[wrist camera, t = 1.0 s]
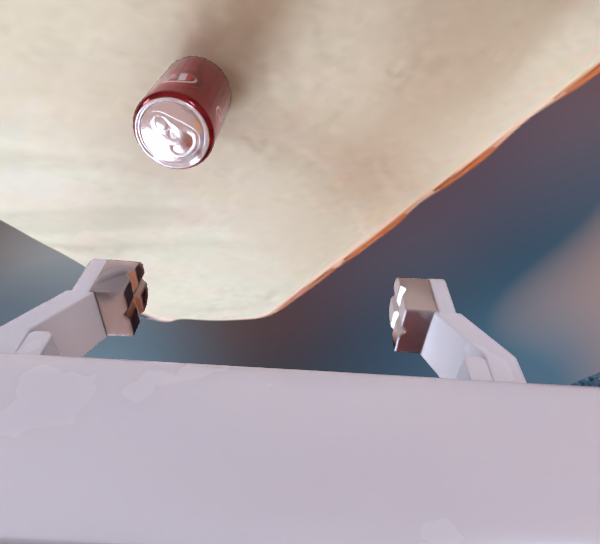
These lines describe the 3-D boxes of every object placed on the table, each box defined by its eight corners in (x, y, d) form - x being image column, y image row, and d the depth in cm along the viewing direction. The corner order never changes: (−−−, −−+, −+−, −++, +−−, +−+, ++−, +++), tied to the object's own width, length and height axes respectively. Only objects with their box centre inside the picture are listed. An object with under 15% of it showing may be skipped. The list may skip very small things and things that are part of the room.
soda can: (245, 96, 51) (230, 142, 42) (199, 135, 54) (174, 186, 45) (197, 38, 48) (169, 74, 39) (150, 83, 51) (113, 127, 42)
